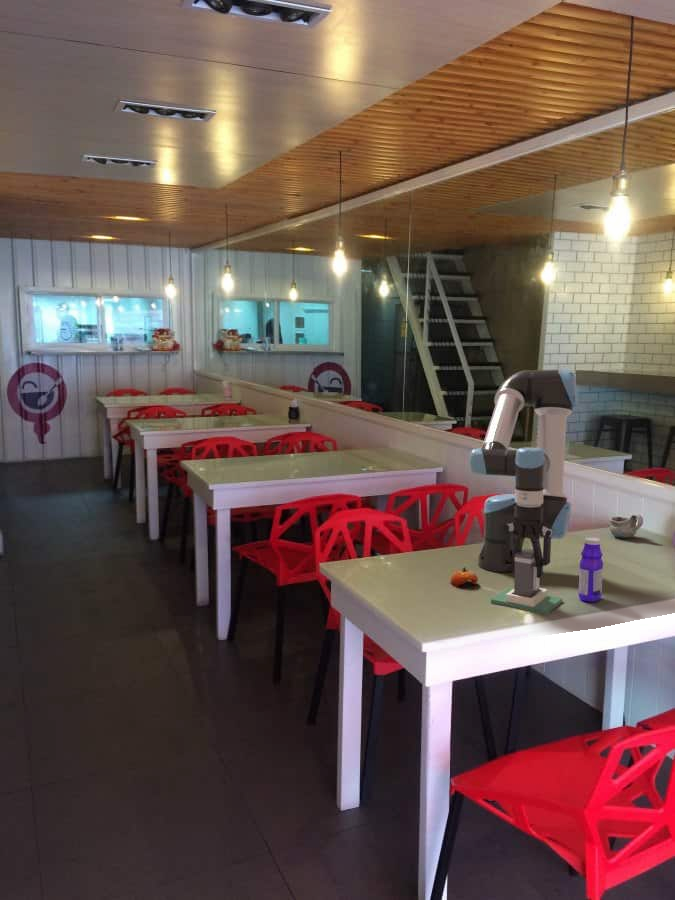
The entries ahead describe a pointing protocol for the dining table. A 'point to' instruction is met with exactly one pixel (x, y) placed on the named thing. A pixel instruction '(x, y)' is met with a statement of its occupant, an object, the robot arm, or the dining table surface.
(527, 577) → the plug
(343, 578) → the dining table surface
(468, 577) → the tomato
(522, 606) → the header board
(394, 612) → the dining table surface
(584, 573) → the bottle
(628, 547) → the dining table surface
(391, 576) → the dining table surface
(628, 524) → the mug
